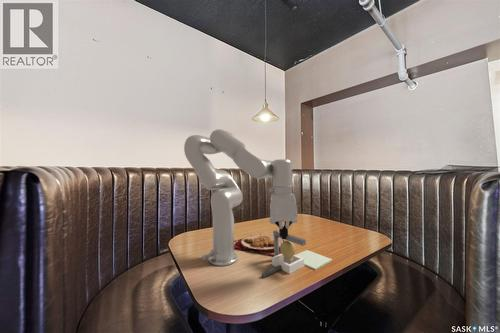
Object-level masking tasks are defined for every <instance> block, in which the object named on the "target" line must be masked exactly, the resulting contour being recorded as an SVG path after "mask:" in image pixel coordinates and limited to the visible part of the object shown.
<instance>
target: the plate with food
mask: <svg viewBox="0 0 500 333" xmlns="http://www.w3.org/2000/svg"><path fill="white" fill-rule="evenodd" d="M284 241H288V240H285V239H282V238H279V254H282V253H281V250H280V246H281V244H282V243H283V242H284ZM235 249H239V250H240V251H249V252H252V253H254V251H253V250H252V249H254V250H258V251H259V252H258V253H260V254H261V255H265V256H274V254H273V253H274V236H273V235H270V234H262V233H261V234H255V235H251V234H250V235H247V236H246V237H244V238H242V239H241V238H239V239H237V240H236V239H235V240H234V250H235Z"/></svg>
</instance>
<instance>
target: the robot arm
mask: <svg viewBox="0 0 500 333" xmlns="http://www.w3.org/2000/svg"><path fill="white" fill-rule="evenodd" d="M183 146H184V147H183V148H184V149H183V151H184V156H185V158H186V160H187V162H189V165H190V166H191V167H192V168H193V170H194V172H195V173H196V175H197V177H198V178H199V180H200V182H201V183H202V185H203V187H204V188H205V189H206V190H209V191H214V192H213V193H212V194H211V196H210V206H211V212H212V213H211V214H212V249H210V252H208V253H207V254H202V257H201V258H202V261H205V260H208V261H209V263H210V264H212V265H215V266H220V267H222V266H223V267H224V266H229V265H232V264H234V263H236V262H237V261H238V258H239V257H238V254H237V253H236V252H235V249H234V244H235V242H234V241H235V217H234V212H233V208H235V207H237V206H239V205H241V203H242V201H243V199H244V198H243V193H242V191H241V189H240V187H239V186H238V184H237V182H236V181H235V180H234V178H233V177H232V175H231V174H230V173H229V172H228V171H226V170H224V169H217V168H216V167H215V166H214V165H213V163H212V162H211V161H210V159H209V157H207V156H206V155H215V154H219V153H224V155H226V156H228V158H230V159H231V160H232V161H233V163H234V164H235V165H236V166H237V167H238V169H241V171H243V172H244V173H246V174H247V175H249V176H250V177H251V178H254V179H256V180H257V179H258V180H259V179H269V178H272V187H271V188H268V190H269V193H272V194H271V195H270V201H269V202H270V203H269V223H270V224H272V225H276V226H277V227H278V228H279V230H278V231H279V234H280V237H281V238H280V239H281V240H285V239H287V236H288V234H289V228H290V226H292V224H296V223H298V208H297V199H296V195H295V194H294V193H293V175H292V172H293V169H292V168H293V167H292V161H291V160H290V159H288V158H287V159H285V158H281V159H274V160H266V159H260V158H259V157H257V156H256V155H254V154H253V153H251V152H250V151H248V150H247V148H246V144H245V143H244V142H242V141H241V140H239V139H238V138H236V136H235V134H233V133H232V132H229V131H227V130H224V129H215V130H213V131H212V132H211V133H210V135H209V137H207V136H204V135H198V134H193V135H190V136H188V137H187V138H186V139H185V142H184V145H183ZM283 222H284V223H283Z"/></svg>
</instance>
